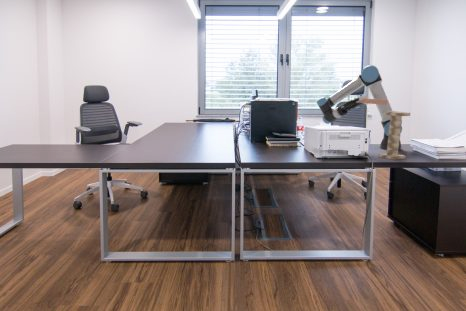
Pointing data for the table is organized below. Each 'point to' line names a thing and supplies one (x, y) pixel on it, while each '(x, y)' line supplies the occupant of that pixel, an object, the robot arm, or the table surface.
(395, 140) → the pedestal stand
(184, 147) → the table surface
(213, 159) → the table surface
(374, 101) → the bar
